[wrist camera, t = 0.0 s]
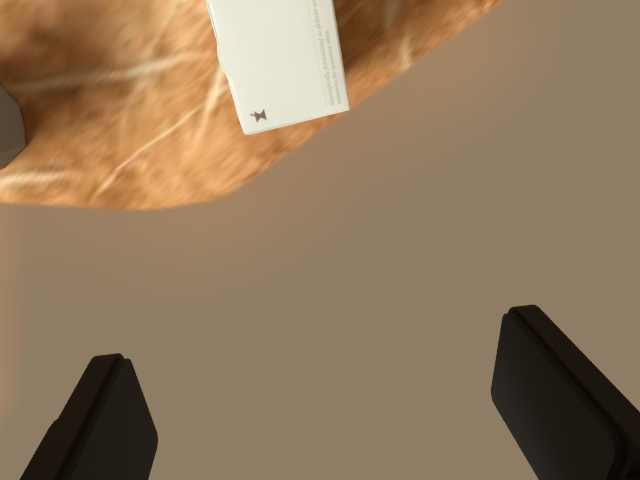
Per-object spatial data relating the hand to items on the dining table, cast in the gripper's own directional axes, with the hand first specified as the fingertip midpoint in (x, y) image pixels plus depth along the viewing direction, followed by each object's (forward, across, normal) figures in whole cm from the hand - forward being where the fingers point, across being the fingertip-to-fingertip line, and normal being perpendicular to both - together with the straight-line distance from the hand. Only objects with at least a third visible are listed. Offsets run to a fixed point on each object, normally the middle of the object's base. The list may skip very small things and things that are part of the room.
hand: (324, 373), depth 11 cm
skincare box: (+32, 0, -7) cm, 32 cm away
